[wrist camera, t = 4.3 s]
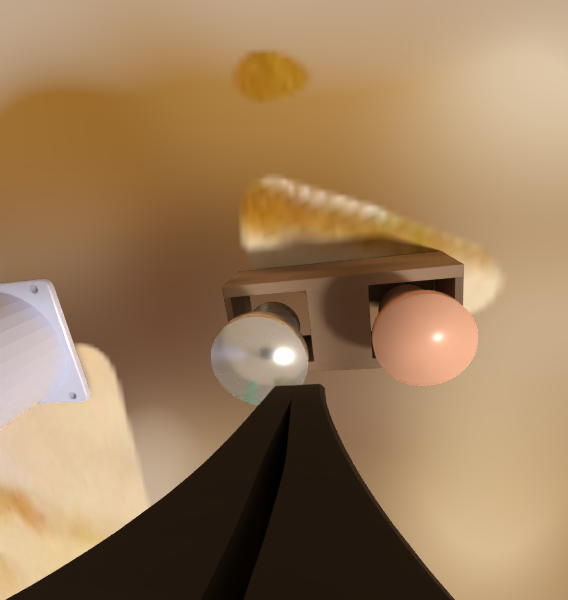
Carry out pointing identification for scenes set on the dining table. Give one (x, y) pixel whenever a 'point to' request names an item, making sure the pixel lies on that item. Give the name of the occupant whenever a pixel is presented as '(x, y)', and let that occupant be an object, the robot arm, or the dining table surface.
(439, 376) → the terracotta plug
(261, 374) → the grey plug
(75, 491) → the dining table surface
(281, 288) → the plug block
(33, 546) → the dining table surface
